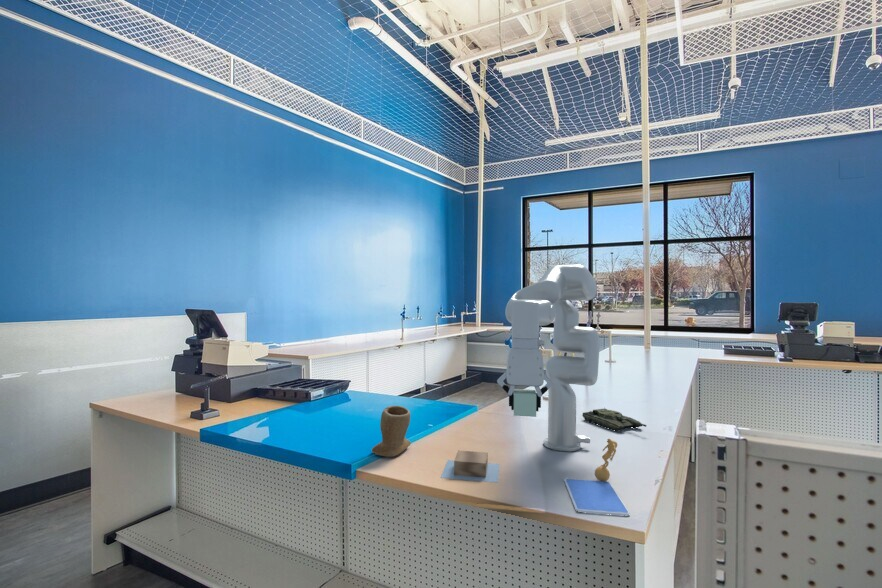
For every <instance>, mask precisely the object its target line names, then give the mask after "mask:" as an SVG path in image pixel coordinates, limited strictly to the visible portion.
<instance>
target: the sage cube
mask: <svg viewBox="0 0 882 588" xmlns="http://www.w3.org/2000/svg"><path fill="white" fill-rule="evenodd" d="M536 393H537V392H536V389H519V388H515V389H514V391H513V394H514V410H513V416H514V417H531V418H532V417H533V418H536V417H537V411H536Z"/></svg>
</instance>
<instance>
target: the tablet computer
mask: <svg viewBox="0 0 882 588" xmlns="http://www.w3.org/2000/svg"><path fill="white" fill-rule="evenodd" d="M564 481H565V482H564V484H565V487H566V486H567V487H566V489H567V491H568V495H569V496H570V500H571V502H572V504H573V507H574V509H575V511H576V512H577V511H578V512H577V513H579V512H586V513H594V514H593V515H599V514H605V515H604V516H607V515H606V514H609V515H608V516H612V515H629V514H630V512H629V509H628V508H627V507H626V505H625V503H624V502H623V500H622V499H621V497H620V495H619V494H618V493H617V491H616V490H615V488H614V487H613V485H612V483H611V482H609V481H599V480H588V479H577V478H576V479H574V478H565V479H564ZM586 513H585V514H586ZM610 514H611V515H610ZM630 515H631V514H630ZM630 515H629V516H630Z"/></svg>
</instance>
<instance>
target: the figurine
mask: <svg viewBox="0 0 882 588" xmlns="http://www.w3.org/2000/svg"><path fill="white" fill-rule="evenodd" d="M606 443H607V445H606V446H604V448H602V452H605V451H606V449H607V451H606V452H605V453H604V454H603V455H602V456H601V457H602V459H603V461H604V463H603V464H601V465H600V466H597V467H596V468H595V470H594V476H595V478H596V480H597V481H606V482H608V480H609V479H610V476H611V475H610V471H609V470H608V468H607V467H608V466H609V462H611V461H613V459H614V457H615V454H616V453H617V447H618V442H617V441H615V440H612V439H610V438H608V439H607V440H606ZM608 460H609V461H608Z"/></svg>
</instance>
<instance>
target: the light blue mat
mask: <svg viewBox="0 0 882 588" xmlns="http://www.w3.org/2000/svg"><path fill="white" fill-rule="evenodd" d="M454 460H455V459H453V460H452V459H447V461H446V464H445V466H444V468H443V471H442V473H441V476H440V478H441V479H452V480H464V481H474V482H475V481H476V482H487V483H488V482H489V483H496V484H497V483H499V475H500V463H494V462H493V463H492V462H488V467H487V473H486V478H483V477H471V476H458V475H454Z"/></svg>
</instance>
